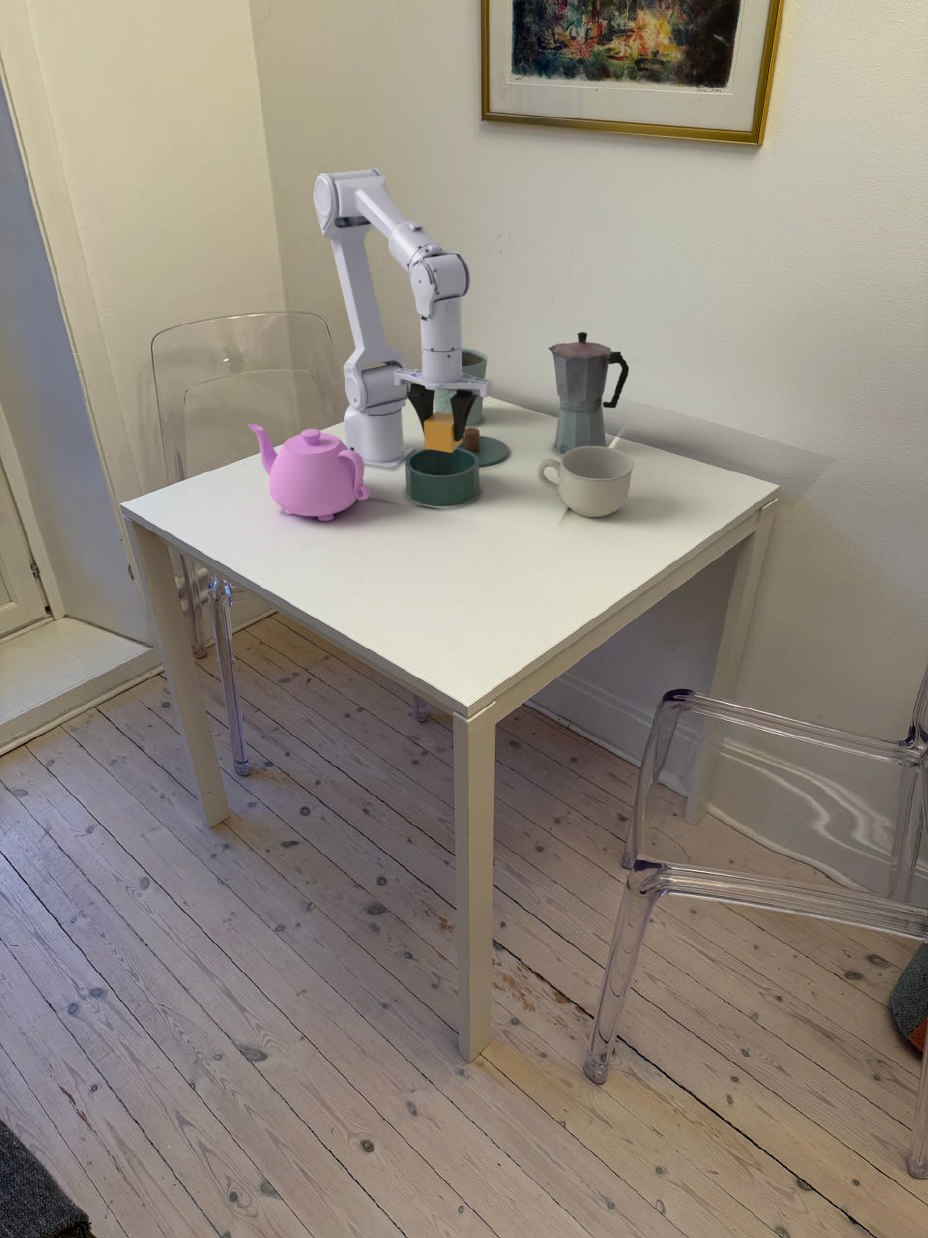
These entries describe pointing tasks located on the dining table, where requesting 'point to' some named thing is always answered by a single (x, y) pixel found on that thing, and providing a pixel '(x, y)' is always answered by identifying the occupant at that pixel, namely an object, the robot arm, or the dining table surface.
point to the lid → (484, 447)
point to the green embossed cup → (472, 366)
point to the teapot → (312, 473)
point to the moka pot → (583, 391)
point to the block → (440, 433)
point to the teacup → (591, 479)
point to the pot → (442, 477)
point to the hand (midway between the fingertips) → (443, 436)
